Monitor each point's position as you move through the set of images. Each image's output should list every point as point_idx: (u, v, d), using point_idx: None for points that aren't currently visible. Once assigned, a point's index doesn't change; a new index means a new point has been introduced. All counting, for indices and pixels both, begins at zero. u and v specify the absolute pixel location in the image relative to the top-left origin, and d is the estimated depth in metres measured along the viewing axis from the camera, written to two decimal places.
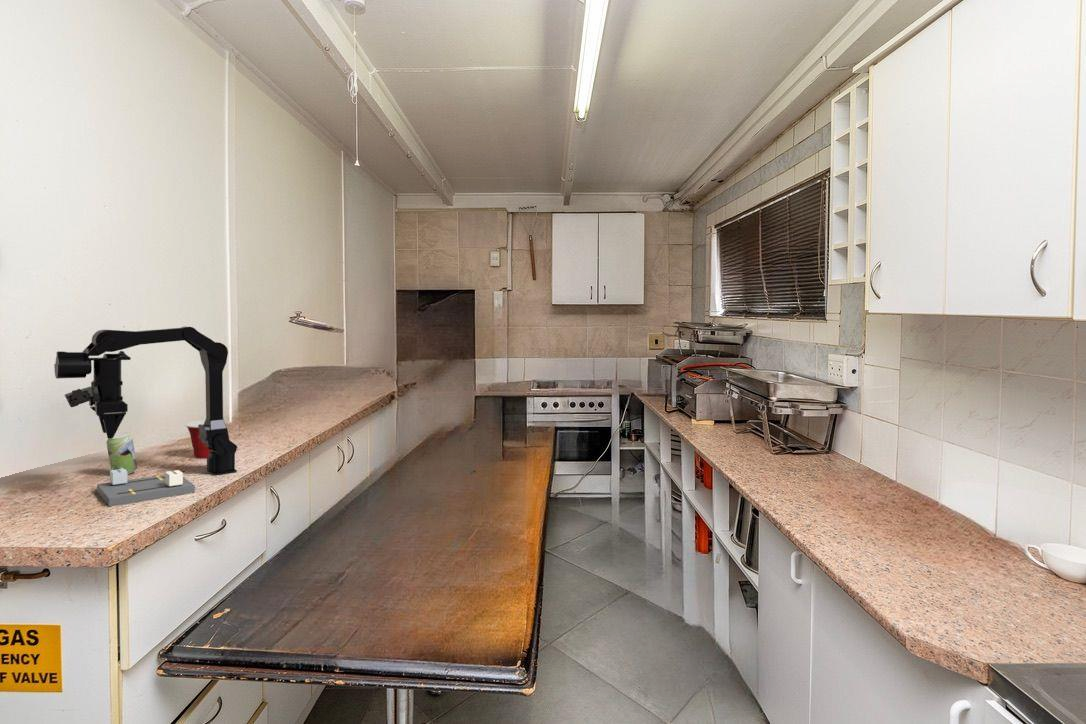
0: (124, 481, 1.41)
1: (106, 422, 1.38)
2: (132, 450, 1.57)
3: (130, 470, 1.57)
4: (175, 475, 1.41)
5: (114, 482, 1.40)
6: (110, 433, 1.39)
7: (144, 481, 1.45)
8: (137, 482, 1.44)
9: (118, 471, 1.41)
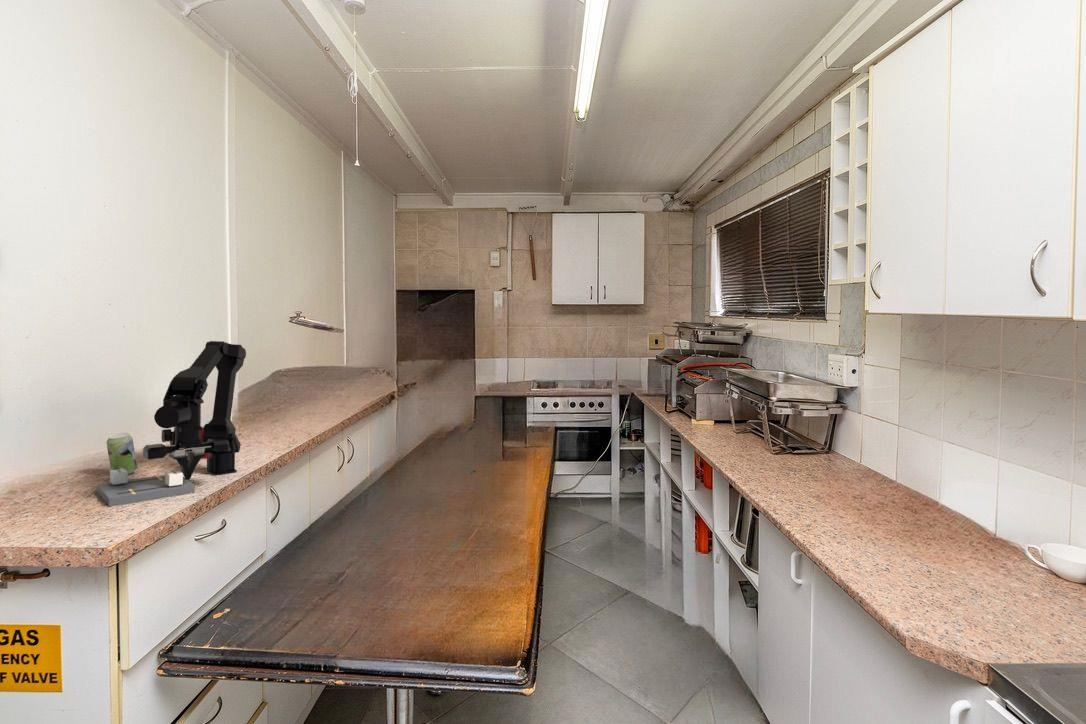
0: (124, 481, 1.41)
1: (179, 463, 1.44)
2: (132, 450, 1.57)
3: (130, 470, 1.57)
4: (175, 475, 1.41)
5: (114, 482, 1.40)
6: (184, 474, 1.44)
7: (144, 481, 1.45)
8: (137, 482, 1.44)
9: (118, 471, 1.41)
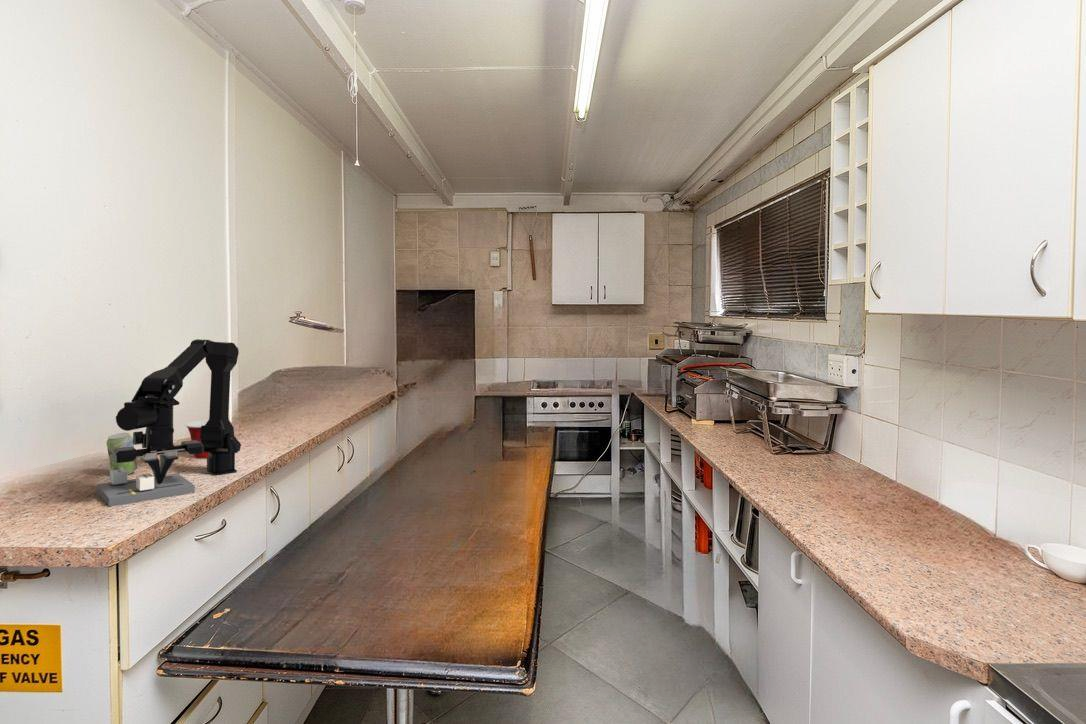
0: (124, 481, 1.41)
1: (151, 467, 1.39)
2: None
3: (130, 470, 1.57)
4: (146, 479, 1.36)
5: (114, 482, 1.40)
6: (155, 478, 1.39)
7: None
8: None
9: (118, 471, 1.41)
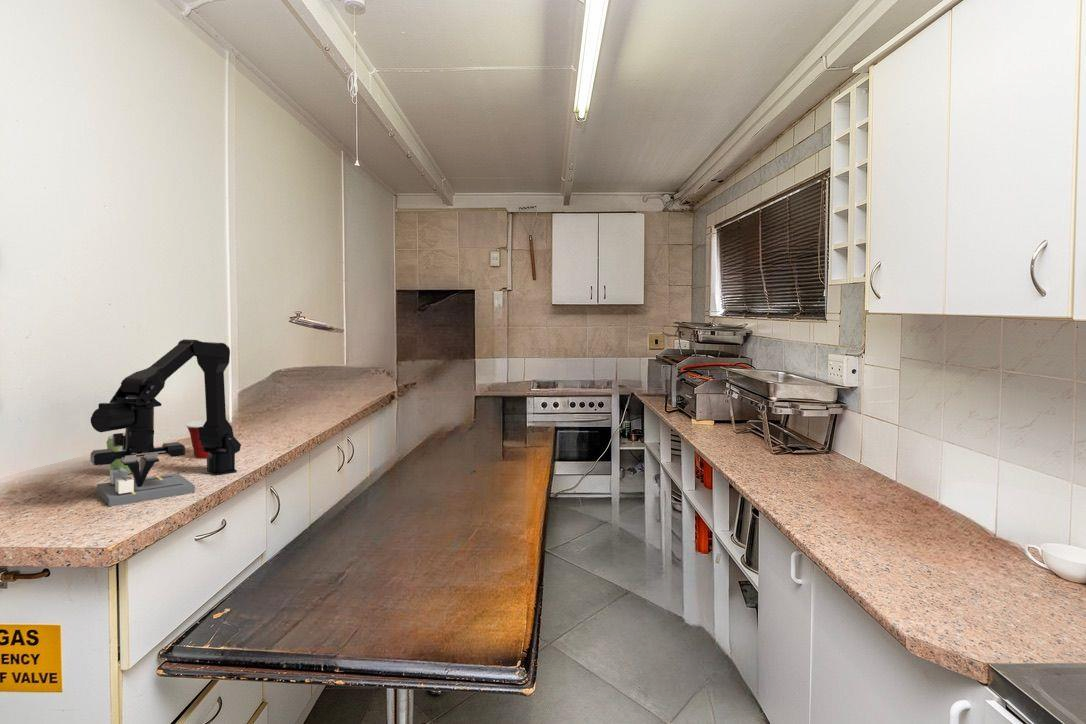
0: None
1: None
2: None
3: (130, 470, 1.57)
4: (125, 482, 1.33)
5: (114, 482, 1.40)
6: (135, 481, 1.36)
7: (144, 481, 1.45)
8: None
9: (118, 471, 1.41)
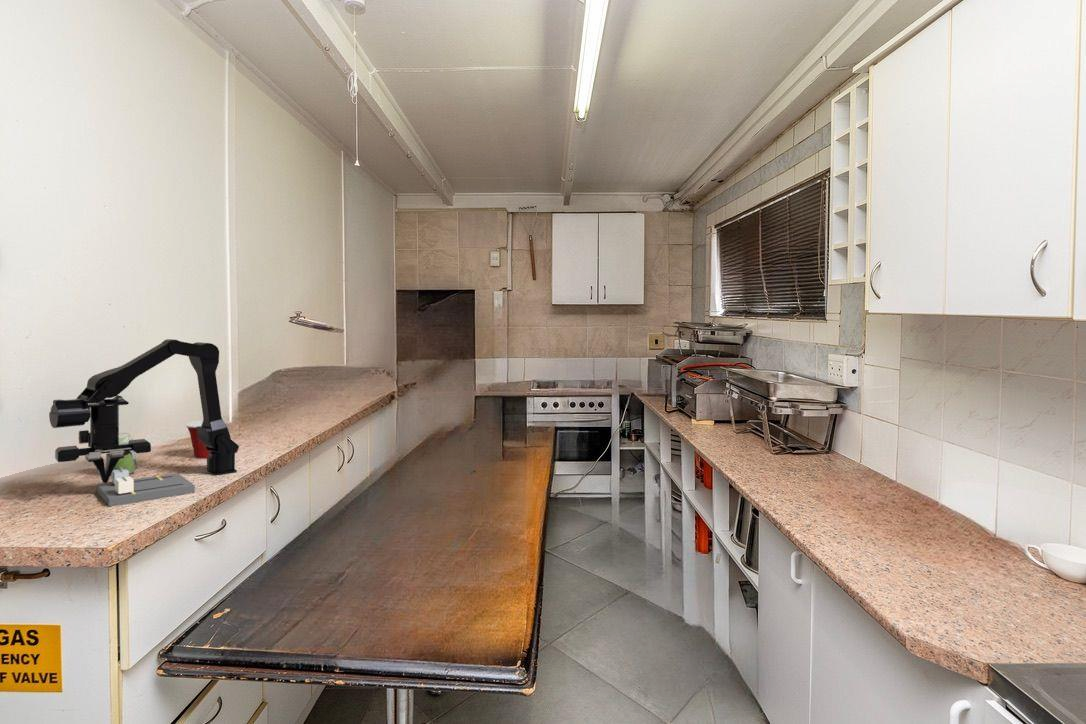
0: None
1: (96, 466, 1.39)
2: (132, 450, 1.57)
3: (130, 470, 1.57)
4: (125, 482, 1.33)
5: None
6: (101, 477, 1.39)
7: (144, 481, 1.45)
8: (137, 482, 1.44)
9: (120, 471, 1.41)
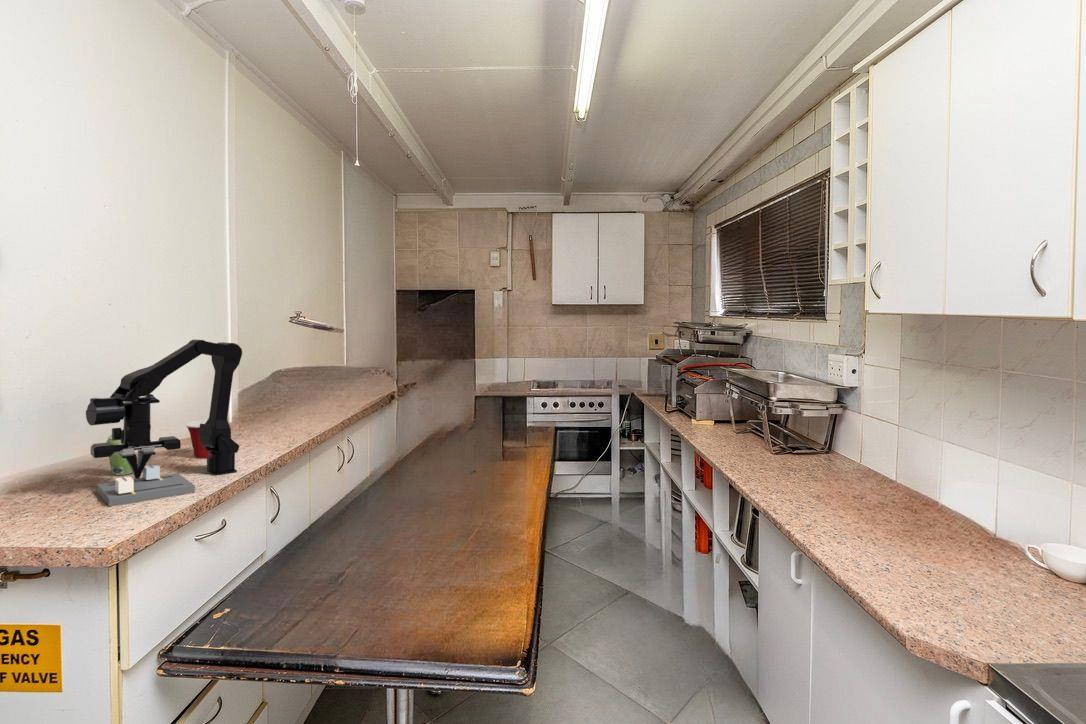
0: (157, 476, 1.46)
1: (128, 462, 1.44)
2: None
3: (130, 470, 1.57)
4: (125, 482, 1.33)
5: (147, 477, 1.45)
6: (133, 473, 1.44)
7: (144, 481, 1.45)
8: (137, 482, 1.44)
9: (151, 467, 1.46)
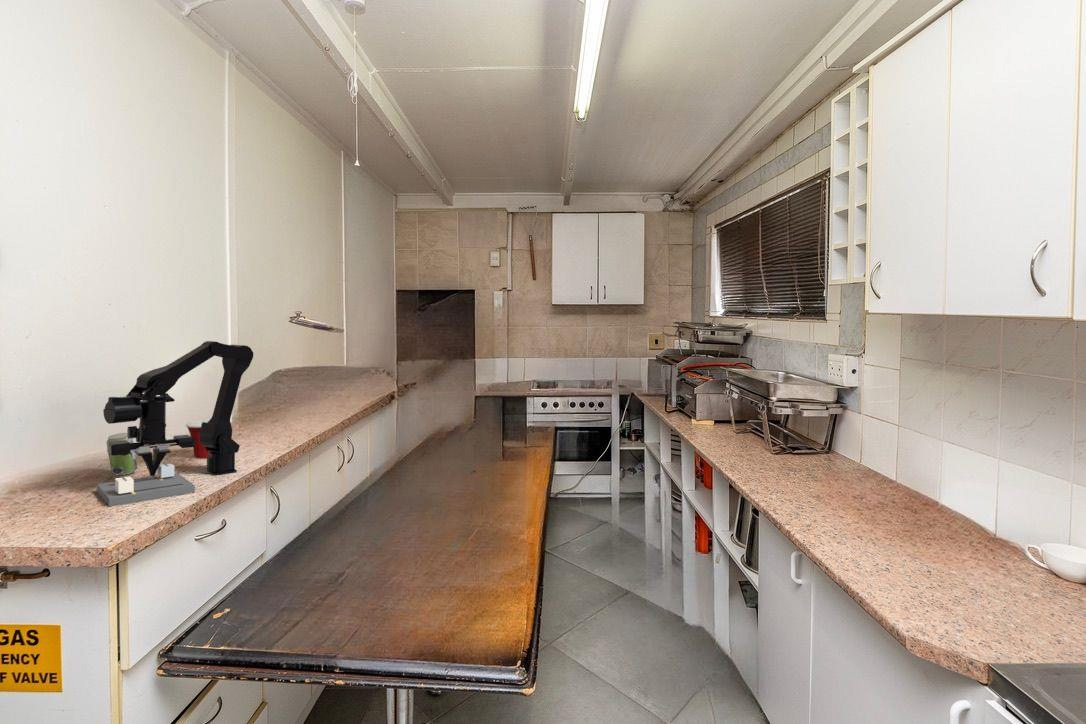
0: (171, 474, 1.49)
1: (144, 460, 1.46)
2: (132, 450, 1.57)
3: (130, 470, 1.57)
4: (125, 482, 1.33)
5: (162, 475, 1.47)
6: None
7: (144, 481, 1.45)
8: (137, 482, 1.44)
9: (166, 465, 1.49)
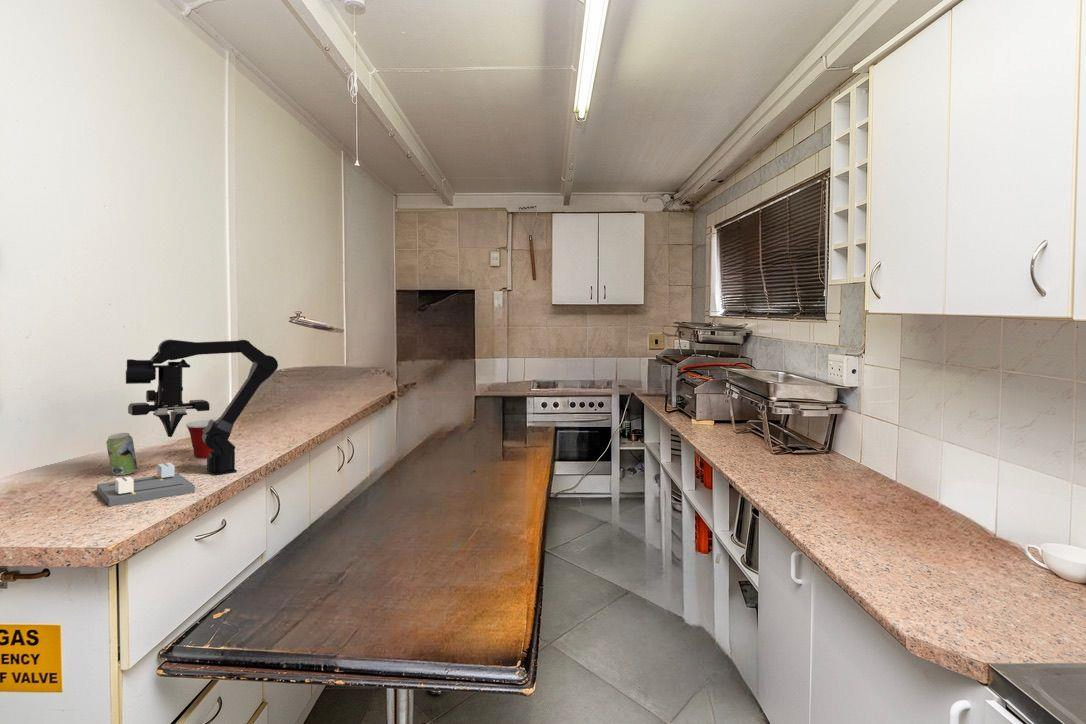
0: (171, 474, 1.49)
1: (162, 422, 1.55)
2: (132, 450, 1.57)
3: (130, 470, 1.57)
4: (125, 482, 1.33)
5: (162, 475, 1.47)
6: (166, 432, 1.55)
7: (144, 481, 1.45)
8: (137, 482, 1.44)
9: (166, 465, 1.49)
